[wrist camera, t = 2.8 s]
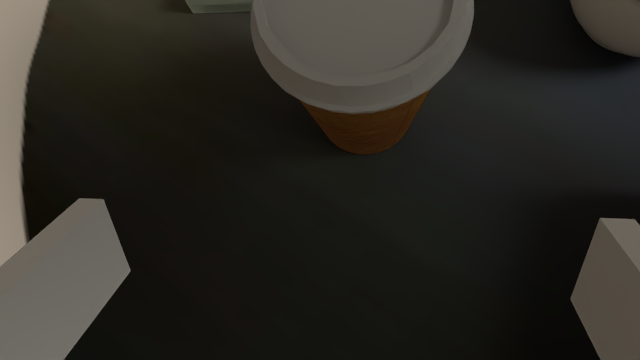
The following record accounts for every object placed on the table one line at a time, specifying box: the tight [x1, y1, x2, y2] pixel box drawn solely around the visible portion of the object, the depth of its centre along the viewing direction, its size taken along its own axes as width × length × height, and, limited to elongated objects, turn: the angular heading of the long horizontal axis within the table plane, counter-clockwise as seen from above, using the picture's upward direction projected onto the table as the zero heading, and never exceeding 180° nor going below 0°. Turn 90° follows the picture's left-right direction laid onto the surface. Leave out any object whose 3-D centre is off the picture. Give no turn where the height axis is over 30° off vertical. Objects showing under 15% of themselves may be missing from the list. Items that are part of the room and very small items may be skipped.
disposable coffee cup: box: [251, 0, 474, 155], centre depth 22 cm, size 10×10×12 cm
